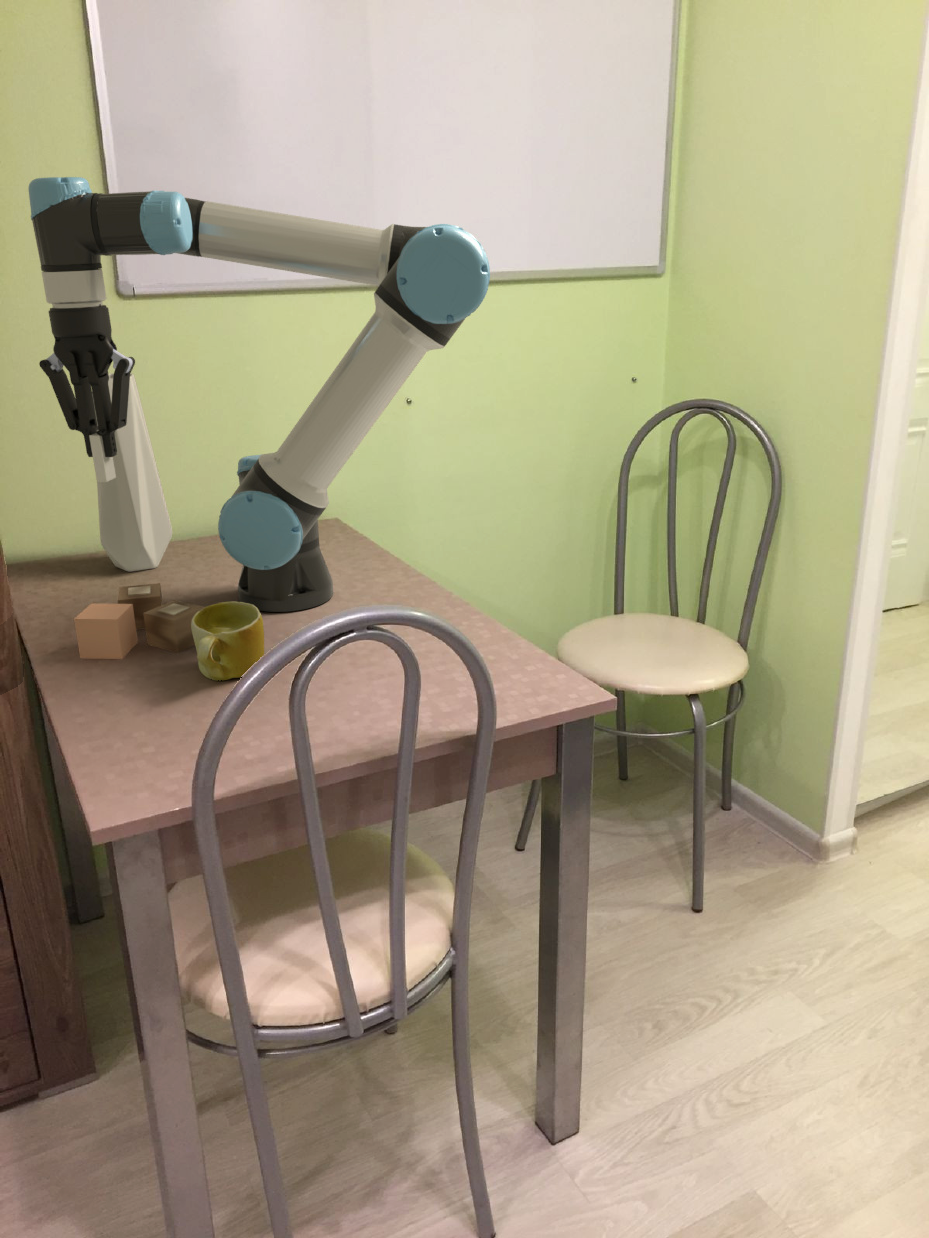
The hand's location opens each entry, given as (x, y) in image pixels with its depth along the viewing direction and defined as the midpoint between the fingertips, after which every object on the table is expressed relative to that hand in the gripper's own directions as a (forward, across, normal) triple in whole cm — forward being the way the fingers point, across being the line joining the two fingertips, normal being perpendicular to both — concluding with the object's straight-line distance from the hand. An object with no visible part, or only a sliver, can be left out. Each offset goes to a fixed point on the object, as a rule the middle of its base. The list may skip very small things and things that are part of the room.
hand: (106, 479), depth 142 cm
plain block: (+23, 0, +8) cm, 24 cm away
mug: (+24, -20, +13) cm, 34 cm away
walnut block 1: (+23, 0, -3) cm, 23 cm away
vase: (+23, +13, -30) cm, 39 cm away
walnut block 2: (+23, -9, +3) cm, 25 cm away
